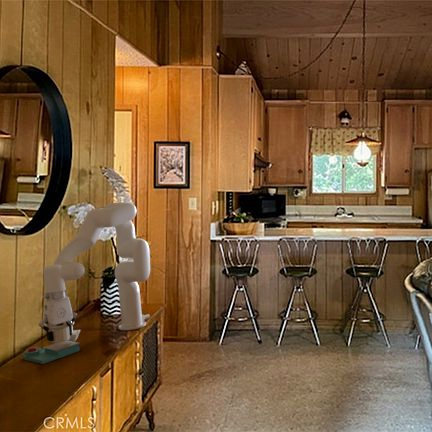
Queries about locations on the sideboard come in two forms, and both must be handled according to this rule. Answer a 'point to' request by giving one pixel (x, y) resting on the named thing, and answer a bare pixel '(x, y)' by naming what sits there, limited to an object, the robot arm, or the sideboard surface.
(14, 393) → the sideboard surface
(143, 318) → the robot arm
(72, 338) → the figurine
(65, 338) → the cup
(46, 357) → the scale
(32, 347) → the tare button
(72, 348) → the weighing plate
